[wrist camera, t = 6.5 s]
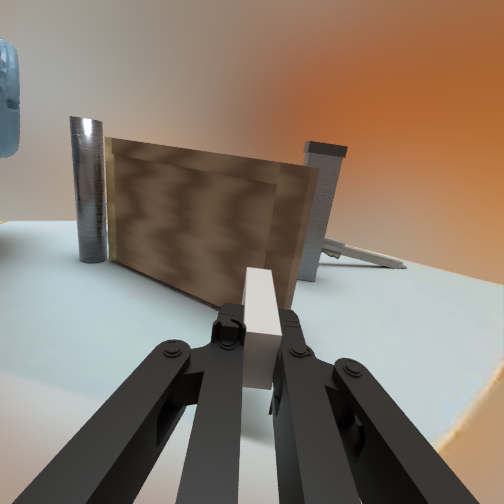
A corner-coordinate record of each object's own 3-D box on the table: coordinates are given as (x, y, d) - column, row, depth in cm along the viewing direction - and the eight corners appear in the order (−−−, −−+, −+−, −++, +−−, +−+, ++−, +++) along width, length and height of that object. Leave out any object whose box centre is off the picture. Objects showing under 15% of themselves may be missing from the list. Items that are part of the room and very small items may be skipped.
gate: (105, 257, 34) (100, 136, 30) (119, 253, 36) (117, 138, 31) (278, 335, 24) (311, 167, 19) (287, 324, 25) (319, 168, 21)
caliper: (297, 266, 43) (305, 226, 41) (294, 263, 44) (302, 224, 42) (406, 270, 48) (418, 235, 46) (401, 267, 49) (413, 233, 47)
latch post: (283, 278, 37) (309, 140, 31) (281, 270, 39) (305, 142, 34) (316, 282, 37) (347, 146, 31) (311, 274, 40) (340, 147, 34)
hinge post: (74, 261, 33) (62, 115, 28) (88, 253, 36) (80, 118, 31) (99, 264, 33) (92, 119, 28) (111, 256, 36) (107, 122, 31)
